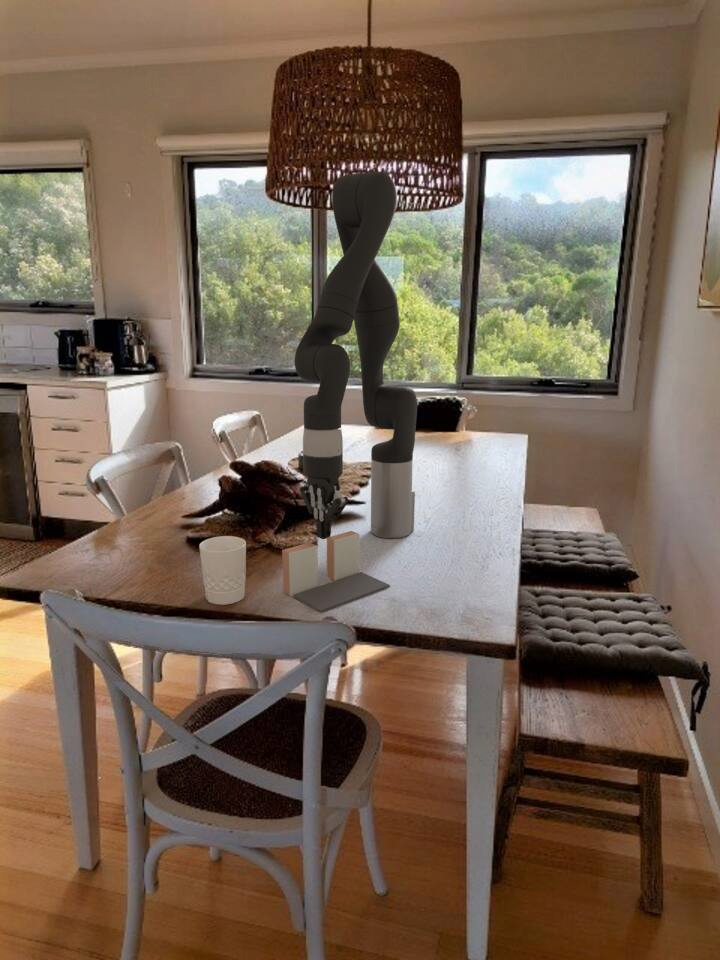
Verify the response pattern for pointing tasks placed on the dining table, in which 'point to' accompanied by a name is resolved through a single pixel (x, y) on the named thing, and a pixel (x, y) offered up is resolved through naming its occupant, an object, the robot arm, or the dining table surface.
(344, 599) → the mat
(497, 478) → the dining table surface
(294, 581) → the tile
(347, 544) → the tile
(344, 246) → the robot arm
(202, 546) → the white cup
